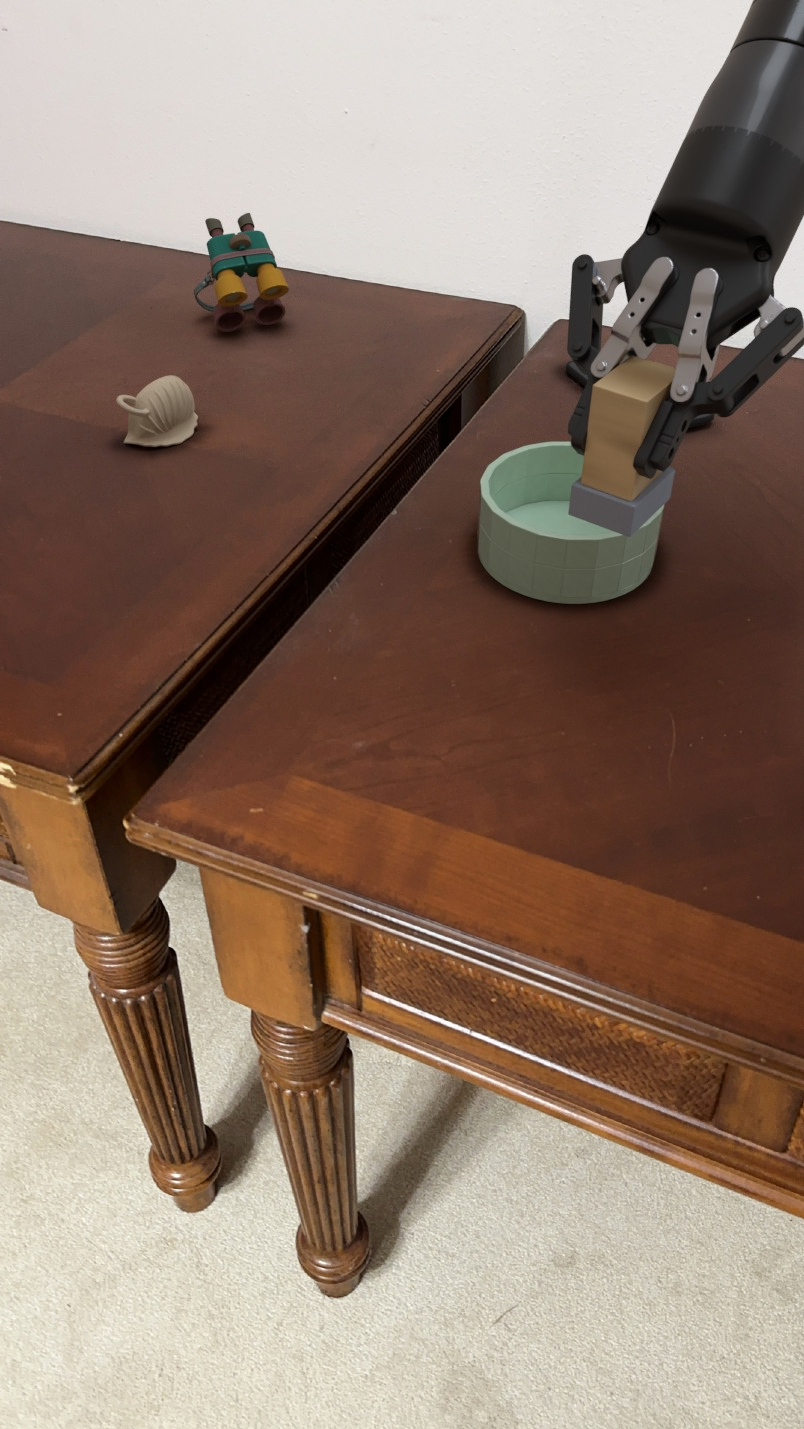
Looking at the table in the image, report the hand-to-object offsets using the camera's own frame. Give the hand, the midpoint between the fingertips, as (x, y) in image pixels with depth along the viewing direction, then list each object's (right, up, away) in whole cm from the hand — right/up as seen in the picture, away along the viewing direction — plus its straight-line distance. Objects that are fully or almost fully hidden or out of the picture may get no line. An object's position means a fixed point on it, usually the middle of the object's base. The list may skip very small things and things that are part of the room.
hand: (611, 460), depth 60 cm
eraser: (+1, -2, +4) cm, 5 cm away
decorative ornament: (-32, +10, +36) cm, 49 cm away
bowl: (+1, -2, +23) cm, 23 cm away
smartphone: (+10, +15, +41) cm, 45 cm away
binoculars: (-27, +26, +52) cm, 64 cm away
